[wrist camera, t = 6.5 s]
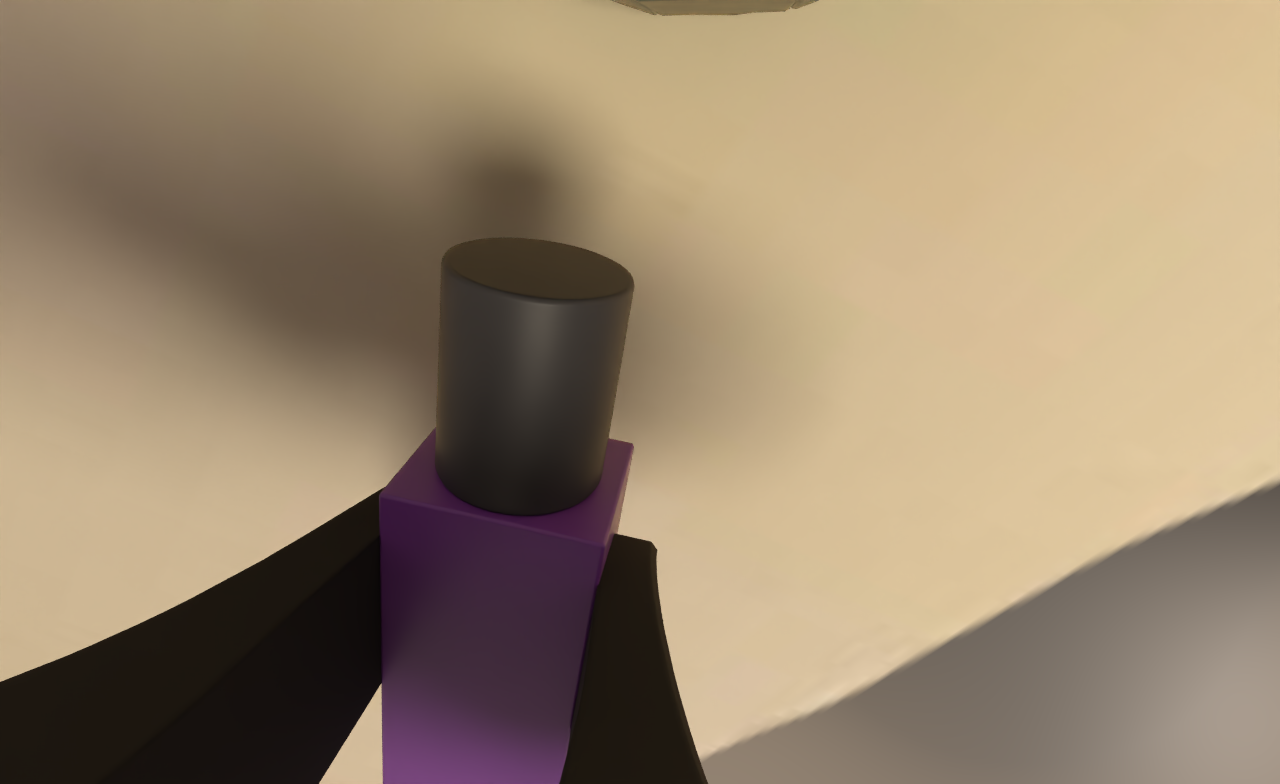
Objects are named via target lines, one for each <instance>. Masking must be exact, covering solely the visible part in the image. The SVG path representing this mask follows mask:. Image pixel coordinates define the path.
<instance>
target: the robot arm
mask: <svg viewBox="0 0 1280 784" xmlns="http://www.w3.org/2000/svg"><path fill="white" fill-rule="evenodd" d="M384 488H385V487H384ZM384 488H382V489H381V490H379V491H377V492H376V493H374V494H372V495H371V496H369V497H367V498H366V499H364V500H362V501H361V502H359V503H357V504H356V505H354V506H353V507H351V508H349V509H348V510H346V511H344V512H343V513H341V514H339V515H338V516H336V517H334V518H333V519H331V520H330V521H328V522H326V523H325V524H323V525H321V526H320V527H318V528H316V529H315V530H313V531H311V532H310V533H308V534H306V535H305V536H303V537H301V538H300V539H298V540H296V541H294V542H293V543H291V544H289V545H288V546H286V547H284V548H282V549H281V550H279V551H277V552H276V553H274V554H272V555H270V556H269V557H267V558H265V559H264V560H262V561H260V562H258V563H256V564H255V565H253V566H251V567H249V568H247V569H245V570H243V571H242V572H240V573H238V574H236V575H234V576H232V577H230V578H228V579H227V580H225V581H223V582H221V583H219V584H217V585H215V586H213V587H212V588H210V589H208V590H206V591H204V592H202V593H200V594H199V595H197V596H195V597H193V598H191V599H189V600H187V601H185V602H183V603H181V604H179V605H177V606H175V607H173V608H171V609H169V610H167V611H165V612H163V613H161V614H159V615H157V616H155V617H153V618H150V619H148V620H146V621H144V622H142V623H140V624H138V625H136V626H133V627H131V628H129V629H127V630H124V631H122V632H120V633H118V634H116V635H113V636H111V637H109V638H107V639H104V640H102V641H100V642H98V643H95V644H93V645H91V646H89V647H86V648H84V649H82V650H79V651H77V652H75V653H72V654H70V655H68V656H65V657H63V658H60V659H58V660H55V661H53V662H50V663H48V664H45V665H42V666H40V667H37V668H35V669H32V670H30V671H27V672H25V673H22V674H19V675H17V676H14V677H12V678H9V679H7V680H4V681H2V682H0V784H319V782H320V781H321V779H322V778H323V776H324V774H325V773H326V771H327V770H328V768H329V766H330V765H331V763H332V762H333V760H334V758H335V757H336V755H337V753H338V752H339V750H340V749H341V747H342V745H343V744H344V742H345V741H346V739H347V737H348V736H349V734H350V733H351V731H352V729H353V728H354V726H355V725H356V723H357V721H358V720H359V718H360V717H361V715H362V713H363V712H364V710H365V709H366V707H367V705H368V704H369V702H370V701H371V699H372V697H373V696H374V694H375V692H376V691H377V689H378V688H379V686H380V684H381V683H382V678H381V603H380V528H379V495H380V493H381V492H382V491H383V489H384ZM656 556H657V549H656V548H655V546H654V545H653V543H652V542H650V541H646V540H641V539H637V538H632V537H628V536H624V535H619V534H615V533H614V536H613V540H612V543H611V546H610V549H609V552H608V556H607V559H606V562H605V565H604V569H603V572H602V576H601V579H600V582H599V585H598V586H597V591H596V596H595V602H594V607H593V613H592V618H591V623H590V629H589V634H588V640H587V645H586V650H585V656H584V661H583V666H582V672H581V677H580V683H579V688H578V693H577V699H576V704H575V710H574V715H573V720H572V726H571V732H570V738H569V744H568V751H567V756H566V760H565V764H564V767H563V771H562V775H561V779H560V782H559V784H708V782H707V780H706V777H705V774H704V771H703V769H702V766H701V763H700V760H699V757H698V754H697V751H696V748H695V745H694V741H693V738H692V735H691V732H690V729H689V725H688V722H687V719H686V715H685V712H684V708H683V705H682V701H681V698H680V694H679V690H678V687H677V683H676V679H675V675H674V671H673V667H672V662H671V657H670V653H669V648H668V644H667V639H666V635H665V630H664V624H663V619H662V613H661V606H660V599H659V592H658V583H657V566H656Z"/></svg>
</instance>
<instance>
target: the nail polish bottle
mask: <svg viewBox="0 0 1280 784" xmlns="http://www.w3.org/2000/svg"><path fill="white" fill-rule="evenodd" d="M633 292H634V281H633V278H632V276H631V274H630V273H629V272H628V270H626V269H625V268H624V267H623V266H621V265H620V264H618V263H617V262H615V261H613V260H611V259H609V258H607V257H604V256H602V255H600V254H597V253H595V252H592V251H589V250H586V249H582V248H579V247H575V246H571V245H567V244H562V243H557V242H551V241H545V240H537V239H526V238H488V239H479V240H473V241H468V242H464V243H461V244H458V245H456V246H454V247H452V248H450V249H449V250H448V251H447V252H446V253H445V255H444V256H443V258H442V263H441V291H440V322H439V352H438V382H437V413H436V427H435V429H434V430H433V431H432V432H431V433H430V435H429V436H428V437H427V438H426V439H425V441H424V442H423V443H422V444H421V445H420V446H419V448H418V449H417V450H416V451H415V452H414V454H413V455H412V456H411V457H410V458H409V460H408V461H407V462H406V463H405V464H404V466H403V467H402V468H401V469H400V470H399V472H398V473H397V474H396V475H395V476H394V477H393V479H392V480H391V481H390V482H389V483H388V485H387V486H386V487H385V488H384V489H383V491H382V492H381V493H380V495H379V528H380V603H381V678H382V752H383V784H559V782H560V779H561V775H562V771H563V767H564V764H565V760H566V756H567V751H568V744H569V738H570V732H571V726H572V720H573V715H574V710H575V704H576V699H577V693H578V688H579V683H580V677H581V672H582V666H583V661H584V656H585V650H586V645H587V640H588V634H589V629H590V623H591V618H592V613H593V607H594V602H595V596H596V591H597V586H598V585H599V582H600V579H601V576H602V572H603V569H604V565H605V562H606V559H607V556H608V552H609V549H610V546H611V543H612V540H613V536H614V533H615V534H617V532H618V527H619V521H620V516H621V511H622V506H623V501H624V496H625V490H626V485H627V480H628V475H629V470H630V465H631V460H632V454H633V449H634V446H633V444H632V443H628V442H623V441H618V440H614V439H609V438H608V437H609V431H610V425H611V419H612V414H613V408H614V402H615V396H616V390H617V385H618V379H619V373H620V367H621V361H622V355H623V350H624V344H625V338H626V332H627V326H628V321H629V315H630V309H631V303H632V297H633Z"/></svg>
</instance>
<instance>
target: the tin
mask: <svg viewBox="0 0 1280 784" xmlns="http://www.w3.org/2000/svg"><path fill="white" fill-rule="evenodd" d="M612 1H615V2H618V3H621V4H623V5H626V6H629V7H632V8H635V9H638V10H641V11H644V12H647V13H650V14H653V15H656V14H657V13H658V14H661V15H663V16H665V15H738V14H745V13H752V12H780V11H786V10H788V9H790V7H791V8H794V9H797V8H800V7H803V6H805V5H808V4H810V3H813V2H815V1H818V0H612Z"/></svg>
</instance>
